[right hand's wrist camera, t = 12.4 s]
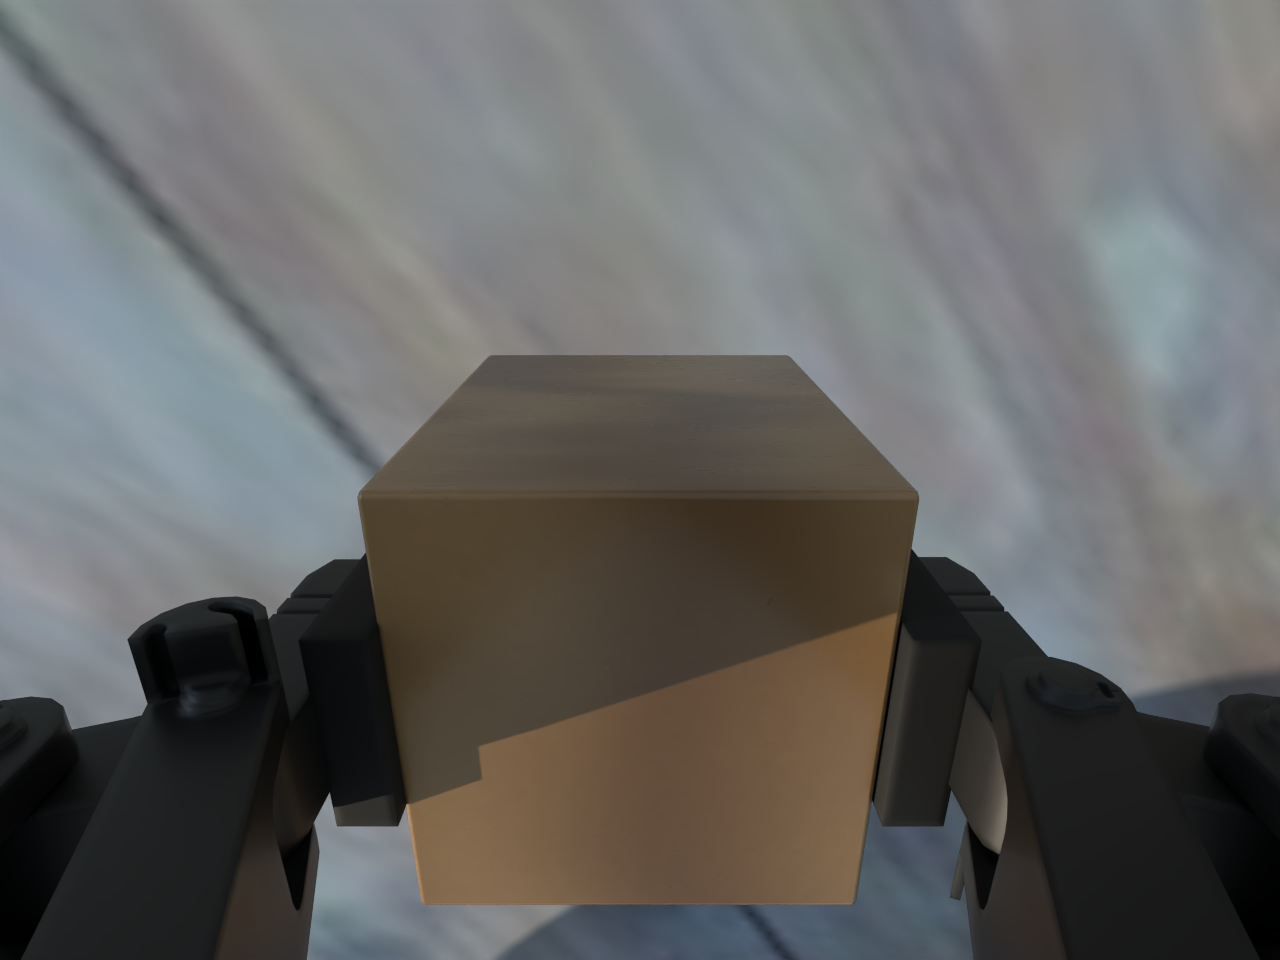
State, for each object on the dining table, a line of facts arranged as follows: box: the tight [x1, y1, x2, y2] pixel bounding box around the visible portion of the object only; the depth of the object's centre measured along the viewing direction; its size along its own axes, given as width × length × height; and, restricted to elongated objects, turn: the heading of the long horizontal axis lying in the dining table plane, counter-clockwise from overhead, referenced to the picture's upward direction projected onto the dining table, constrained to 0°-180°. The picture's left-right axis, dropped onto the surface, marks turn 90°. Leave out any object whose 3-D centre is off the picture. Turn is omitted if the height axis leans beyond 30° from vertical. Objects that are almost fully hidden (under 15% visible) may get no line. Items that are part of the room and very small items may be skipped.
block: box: [358, 355, 919, 905], centre depth 12 cm, size 6×6×7 cm
